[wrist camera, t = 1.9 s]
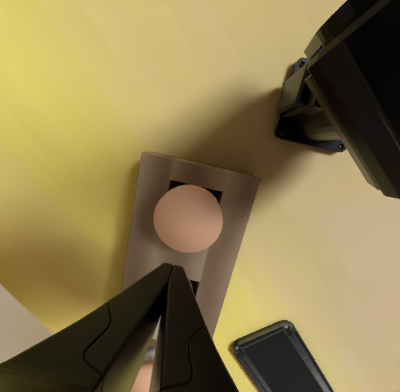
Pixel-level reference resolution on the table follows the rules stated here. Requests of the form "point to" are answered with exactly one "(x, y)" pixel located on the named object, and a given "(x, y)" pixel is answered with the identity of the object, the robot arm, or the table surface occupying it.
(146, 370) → the knob
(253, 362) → the phone
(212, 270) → the knob mount
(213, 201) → the knob
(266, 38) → the table surface
